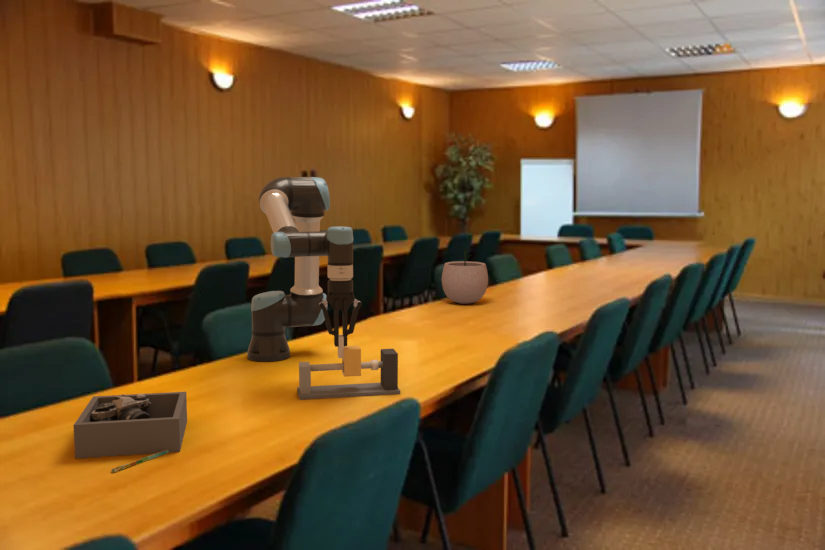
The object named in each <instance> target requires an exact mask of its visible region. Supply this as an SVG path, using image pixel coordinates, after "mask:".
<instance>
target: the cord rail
mask: <svg viewBox="0 0 825 550" xmlns="http://www.w3.org/2000/svg"><path fill="white" fill-rule="evenodd" d="M362 369H364V370H368V369H369V370H371V371H378V370H379V369H380V382H366V383H350V384H349V383H348V384H347V383H346V384H331V385H330V384H329V385H312V376H311V375H312V372H323V371H324V372H327V371H328V372H329V371H342V370H344V363H341V362H339V363H336V362H335V363H319V364H318V363H317V364H311V363H310V361H299V362H298V380H299V381H298V386H297V387H296V390H297V395H298V400H319V399H334V398H336V399H337V398H351V397H368V396H370V397H371V396H385V395H386V396H388V395H389V396H390V395H401V390H400V388H399V384H398V383H399V382H398V381H399V376H398V375H399V353H398V352H397V350H395V349H394V348H380V361H379V360H378V359H370V361H361V370H362Z"/></svg>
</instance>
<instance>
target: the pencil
mask: <svg viewBox="0 0 825 550" xmlns="http://www.w3.org/2000/svg"><path fill="white" fill-rule="evenodd" d="M168 453H170V452H169V451H168V450H163V451H160V452H157V453H153V454H148V455H147V456H144V457H142V458H138V459H135V460H133V461H131V462H128V463H125V464H122V465H119V466H116V467H114V468H111V471H110V473H112V472H113V473H112V474H116V473H117V471H119V472H121V471H124V470H126V469H129V468H131V466H132V467H134V466H137V465H139V463H140V464H142V463H144V462H147V461H150V460H152V459H156V458H158V457H161V456H163V455H166V454H168ZM136 464H137V465H136ZM128 467H129V468H128ZM123 469H124V470H123ZM120 470H121V471H120ZM115 472H116V473H115Z"/></svg>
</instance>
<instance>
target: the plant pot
mask: <svg viewBox="0 0 825 550" xmlns="http://www.w3.org/2000/svg"><path fill="white" fill-rule="evenodd" d="M462 248H463V250H464V261H448V262H445V263H444V265H443V269H442V275H441V287H442V290H443V292H444V294H445V296H446V297H447V298H448V299H449V300H450V301H452V302H453V303H456V304H462V305H471V304H474V303H476V302H478V301H480V300H481V299H482V298H483V297H484V295H485V294H486V292H487V289H488V286H489V274H488V268H487V265H486V263H485V262H480V261H468V259H469V257H471V256H472V255H473V253H471V254H469V255H468V256H467V252H468V253H469V252H470V251H472V250H471V249H469V250H468V249H466V247H465V246H463V245H462Z"/></svg>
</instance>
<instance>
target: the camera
mask: <svg viewBox="0 0 825 550" xmlns="http://www.w3.org/2000/svg"><path fill="white" fill-rule="evenodd" d="M137 394H138V395H137V397H136V398H135V399H132V398H131V397H126V396H127V395H128V394H120V395H121V396H116V397H115V399H114V400H113V401H112V403H102V404H100V405H99V406H98V407H97V408H96V410H95V411H93V412H92V413H91V422H100V421H117V420H134V419H150V418H152V417H151V416H150V407H149V405H150V404H151V403H150V402H149V399H148V397H147V396H146V395H145V394H146V393H137Z"/></svg>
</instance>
